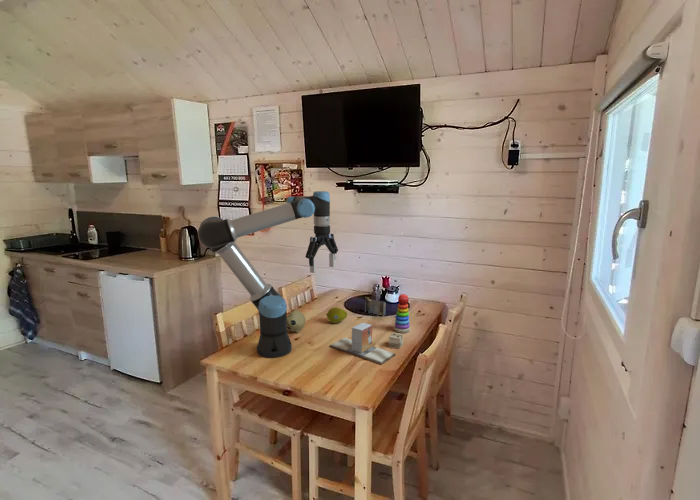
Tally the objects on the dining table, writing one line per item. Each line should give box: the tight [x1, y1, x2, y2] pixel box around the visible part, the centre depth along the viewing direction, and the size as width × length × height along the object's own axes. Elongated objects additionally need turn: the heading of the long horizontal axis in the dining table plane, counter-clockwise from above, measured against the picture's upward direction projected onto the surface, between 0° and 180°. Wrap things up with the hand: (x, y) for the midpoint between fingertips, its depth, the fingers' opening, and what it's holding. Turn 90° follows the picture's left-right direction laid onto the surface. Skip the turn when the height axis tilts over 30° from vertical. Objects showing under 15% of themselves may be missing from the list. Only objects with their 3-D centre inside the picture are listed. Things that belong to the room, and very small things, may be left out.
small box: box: [351, 322, 373, 353], centre depth 182 cm, size 8×6×10 cm
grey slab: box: [364, 296, 387, 317], centre depth 227 cm, size 11×3×10 cm, turn 60°
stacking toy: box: [393, 293, 411, 334], centre depth 204 cm, size 8×8×19 cm
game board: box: [329, 337, 397, 366], centre depth 183 cm, size 11×28×1 cm, turn 52°
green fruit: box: [326, 307, 348, 324], centre depth 215 cm, size 11×8×8 cm
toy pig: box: [287, 309, 306, 334], centre depth 203 cm, size 10×12×11 cm
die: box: [388, 332, 404, 350], centre depth 188 cm, size 5×5×5 cm
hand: (322, 269), depth 196 cm, fingers open, 13 cm apart
